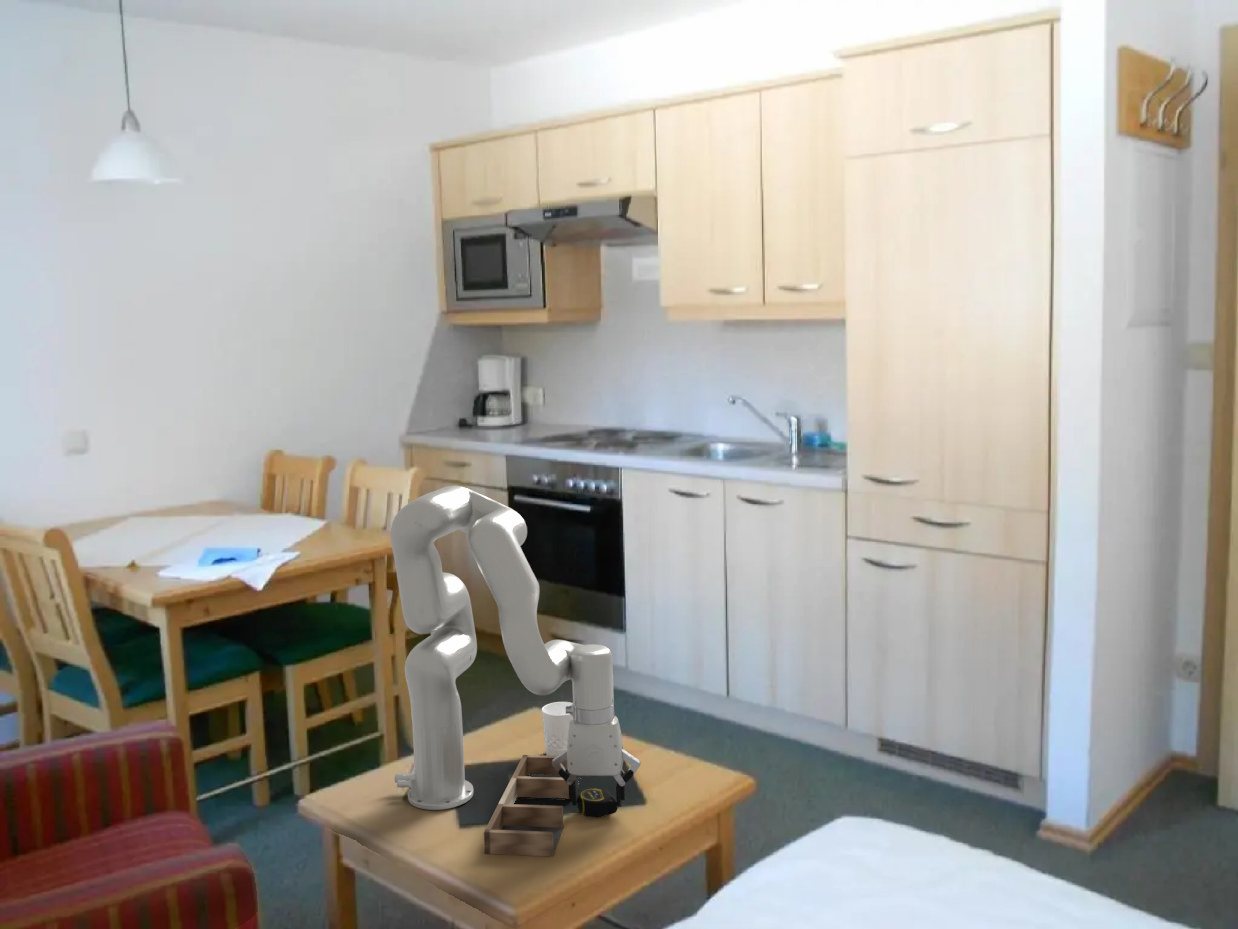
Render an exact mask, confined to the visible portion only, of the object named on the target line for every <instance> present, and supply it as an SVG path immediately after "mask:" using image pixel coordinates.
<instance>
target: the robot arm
mask: <svg viewBox="0 0 1238 929" xmlns="http://www.w3.org/2000/svg"><path fill="white" fill-rule="evenodd" d="M389 531H390V533H389V537H390V545H391V549H392V554H393V558H394V562H395V564H394V565H395V569H396V570H395V571H396V579H397V585H398V591H399V599H400V603H401V611H402V615H403V616H402V617H403V620H404V622H405V624H406V626H407V627H408V628H409V630H411V632H413V633H416V634H418V635H427V634H430V635H429V636H427V637H426V638H425V639H423V640H422V641H420V642H418V643H417V644H416V645H415V646H413V648H412V649H411V650H410V652H409V653H408V655H407V656H406V660H405V663H404V676H405V681H406V686H407V689H408V693H409V694H408V695H409V702H410V711H411V714H410V715H411V723H412V742H413V743H412V744H413V745H412V746H413V758H414V759H413V763H414V766H413V767H414V771H412V772H411V773H405V772H396V773H395V775H394V782H395V783H394V784H396V787H397V788H408V789H409V790H408V792H407V800H408V802H409V804H411V805H412V806H414V807H415V808H418V809H421V810H426V811H427V810H428V811H438V810H439V811H440V810H441V811H442V810H448V809H452V808H456V807H459V806H461V805H463V804H465V803H467V802H469V801H470V800H471V799H472V798H473V796H474V786H473V784H472V783H471V782H469V781H468V780H466V779H465V778H466V776H465V773H466V772H465V755H464V754H465V752H464V735H463V734H464V732H463V730H464V729H463V728H464V727H463V715H462V714H463V713H462V703H461V702H462V701H461V699H460V698H461V697H460V694H459V691H458V689H457V685H456V684H457V683H456V680H457V678H458V677H460V676H461V675H462V674H463V673H464V672H465V671H466V670H468V669H469V668H470V667H471V666H472V664H473V663H474V661H475V659H476V657H477V652H478V642H477V635H476V628H475V622H474V616H473V609H472V602H471V597H470V594H469V591H468V589H467V586H466V585H465V583H464V582H463V581H462V580H461V579H460V578H459V577H458V576H457V575H455V574H452V573H449V572H443V567H442V564H443V563H442V560H441V556H440V554H439V550H438V549H437V547H436V546H435V542H436V541H437V540H438V539H440V538H443V537H445V536H447V535H449V534H451V533H454V532H455V531H459V532H462V533H465V534H467V535H466V541H467V546H468V548H469V551H470V552H471V554H472V557H473V558H474V561H475V563H476V564H477V567H478V569H479V571H480V573H481V574H482V577H483V578H484V581H485V583H486V585H487V588H489V590H490V593H491V595H492V597H493V599H494V600H495V603H496V605H497V608H498V620H499V627H500V632H501V638H502V642H503V646H504V649H505V653H506V655H507V657H508V660H509V661H510V663H511V665H512V668H513V670H514V672H515V673H516V676H517V677H518V679H519V680H520V682H521V683H522V685H523V686H524V687H525V688H526V689H527V690H528V691H529V692H531V693H532V694H534V695H537V696H547V695H550V694H553V693H554V692H555V691H556V690H557V689H559V688H560V687H561V686H562V685H563V683H565V682H567V681H569V680H571V682H572V684H571V687H572V703H573V704H572V705H570V706H566V713H570V714H572V716H573V718H572V719H571V720H570V722H569V728H568V740H567V750H566V751H564V752H563V753H561V754H560V755H559V756H557V757H556V758H554V759H553V761H552V766H553V767H554V768H555V770H556V771H557V772H558V774H559V775H560V776H561V777H562V778H563V779H564V780H565V781H566V783H567V784H568V785H569V799H572V800H571V802H572V804H571V806H577V800H578V796H579V794H580V793H579V786H578V780H577V779H576V777H577V776H582V777H613V778H614V779H615V781H616V782H617V783H616V785H615V786H616V787H615V789H616V790H615V793H616V794H615V795H616V802H617V808H619V807H620V808H621V807H622V804H623V801H626V793H627V792H626V784H627V783H628V781H630V780H631V779H632V778H633V777H634V775H635V774H636V772H637V770H638V769H639V768H640V766H641V764H642V763H641V760H640V759H639V758H637V757H635V756H634V755H633V754H631V753H630V752H628V751H627V750H625V749H624V746H623V737H622V730H621V726H620V721H619V719H618V717H617V716H616V715H615V701H614V700H615V699H614V698H615V697H614V696H615V695H614V694H615V693H614V670H613V667H614V664H613V655H612V651H611V649H610V648H609V647H607V646H605V645H601V644H593V643H591V644H590V643H589V644H581V643H576V642H573V641H572V642H571V641H568V640H564V639H553V640H549V641H547V642H545V643H544V640H543V639H542V636H541V633H540V629H539V625H538V618H537V616H538V614H537V613H538V604H539V600H540V584H539V581H538V580H537V577H536V575H535V573H534V572H533V569H532V568H531V565H530V563H529V562H528V560H527V557H526V556H525V553H524V552H523V549H522V547H521V546H522V545H523V544H524V543H525V541H526V539H527V536H528V526H527V524H526V520H525V519H524V518H523V517H522V516H521V514H520V513H518V511H516V510H514V509H513V508H511V507H509V506H507V505H506V504H503V503H501V502H499V501H496V500H494V499H492V498H490V497H487V496H486V495H483V494H481V493H478V492H476V491H474V490H472V489H470V488H467V487H464V486H461V485H447V486H444V487H440V488H439V489H436V490H434V491H431V492H427V493H426V494H423V495H421V496H418V497H417V498H415V499H413V500H411V501H410V502H407V504H405V506H403V507H402V508H401V509H400V510H398V512H397V514H396V515H395V516H394V518H393V520H392V522H391V526H390V530H389ZM565 760H567V768H568V770H567V769H566V768H565V767H564V766H563V765H562V762H564V761H565ZM624 762H626V763H627V764H629V765H630V767H629V768H627V769H626V770H625V771H624V769H623V764H624Z"/></svg>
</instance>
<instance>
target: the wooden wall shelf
mask: <svg viewBox="0 0 1238 929" xmlns="http://www.w3.org/2000/svg"><path fill="white" fill-rule="evenodd" d="M556 757H557V756H547V755H541V754H540V755H539V754H538V755H537V754H535V755H533V754H532V755H531V754H523V755H522V757H521V759H520V761H519V762H518V764H517V766H516V768H515V770H514V772H513V774H512V776H511V778H510V780H509V782H508V784H507V785H506V788H505V790H504V792H503V794H502V796H501V798H500V800H499V802H498V804H497V805H496V808H495V809H494V811H493V814H492V816H491V818H490V820H489V822H488V823H487V826H486V827H485V829H484V832H483V840H484V841H483V842H484V843H483V844H484V854H487V855H506V856H507V855H509V856H510V855H511V856H530V857H531V856H536V857H554V854H555V851H556V849H557V845H558V843H559V841H560V838H561V835H562V832H563V829H564V824H565V822H564V806H563V805H549V804H548V805H546V804H542V805H540V804H514V803H516V802H515V801H517V799H518V798H517V797H550V798H552V797H558V798H566V799H569V785H568V784H567V783H566V781H565V780H564V779H563V778H562V777H531V775H532V774H537V775H538V774H544V775H546V774H552V775H559V774H558V772H557V771H556V770H555V768H554V767H553V766H552V761H553V759H554V758H556ZM562 765H563V766H564V767H565V768H566V769H567V770H568V768H567V760H565V761H564V762H562ZM528 774H530V776H529V775H528ZM579 778H580V776H578V777H576V779H579ZM580 779H581V780H582V778H580ZM578 782H579V781H578ZM578 785H580V783H578ZM516 798H517V799H516Z"/></svg>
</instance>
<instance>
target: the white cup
mask: <svg viewBox="0 0 1238 929" xmlns="http://www.w3.org/2000/svg"><path fill="white" fill-rule="evenodd" d="M572 704H573V702H569V701H556V702H551V703H548V704H545V705H543V706H542V708H541V715H542V727H543V728H542V729H543V730H542V731H543V738H544V740H543V741H544V745H545V756H559V755H560V754H561V753H563V752H564V751H566V750H567V740H568V728H569V722H570V720H571V719H572V718H573V716H572V714H570V713H566V706H570V705H572Z"/></svg>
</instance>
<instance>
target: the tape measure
mask: <svg viewBox="0 0 1238 929" xmlns="http://www.w3.org/2000/svg"><path fill="white" fill-rule="evenodd" d="M578 794H579V796H578V800H577V805H576V806H577V809H578V811H579V813H580V814H581V815H583V816H585V817H588V818H597V819H598V818H603V817H606V816H609V815H612V814H616V813H617V811H618V806H617V800H616V799H615V798H614V797H613V796H612V794H611V793H610V791H609V790H608V789H607V788H606V787H604V786H603V787H598V788H588V789H584V790H583V791H582V790H581V792H580V793H578Z"/></svg>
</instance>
